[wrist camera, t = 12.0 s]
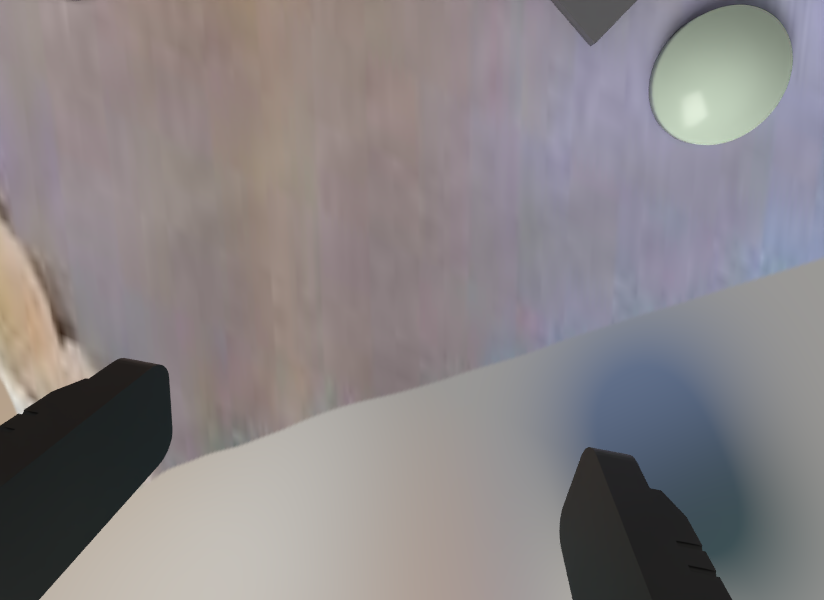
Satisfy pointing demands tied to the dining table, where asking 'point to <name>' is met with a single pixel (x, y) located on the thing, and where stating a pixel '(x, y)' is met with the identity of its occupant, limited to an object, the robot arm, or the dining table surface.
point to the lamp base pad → (593, 15)
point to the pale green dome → (721, 75)
